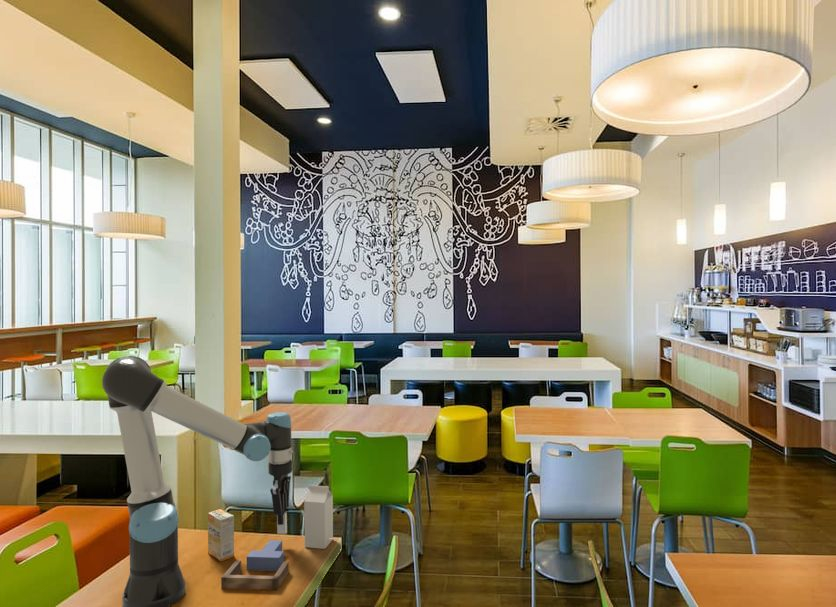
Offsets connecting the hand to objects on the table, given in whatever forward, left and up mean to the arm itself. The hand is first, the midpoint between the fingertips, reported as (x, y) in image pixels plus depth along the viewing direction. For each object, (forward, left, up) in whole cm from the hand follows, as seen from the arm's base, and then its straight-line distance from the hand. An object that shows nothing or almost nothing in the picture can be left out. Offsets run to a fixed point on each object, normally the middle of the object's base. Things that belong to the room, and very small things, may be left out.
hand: (282, 532), depth 167 cm
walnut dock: (0, -20, -4) cm, 21 cm away
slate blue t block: (0, -10, -4) cm, 11 cm away
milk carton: (+12, +2, -5) cm, 13 cm away
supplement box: (-17, -7, -5) cm, 19 cm away
